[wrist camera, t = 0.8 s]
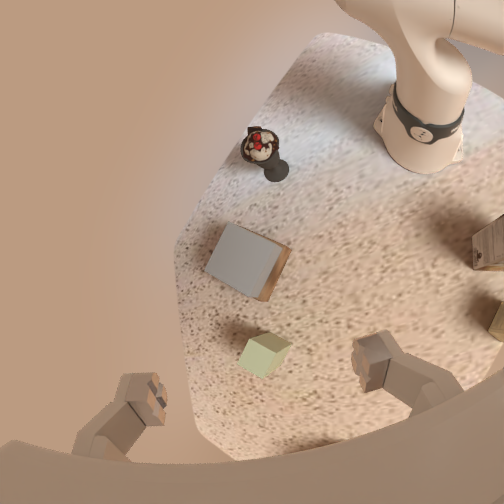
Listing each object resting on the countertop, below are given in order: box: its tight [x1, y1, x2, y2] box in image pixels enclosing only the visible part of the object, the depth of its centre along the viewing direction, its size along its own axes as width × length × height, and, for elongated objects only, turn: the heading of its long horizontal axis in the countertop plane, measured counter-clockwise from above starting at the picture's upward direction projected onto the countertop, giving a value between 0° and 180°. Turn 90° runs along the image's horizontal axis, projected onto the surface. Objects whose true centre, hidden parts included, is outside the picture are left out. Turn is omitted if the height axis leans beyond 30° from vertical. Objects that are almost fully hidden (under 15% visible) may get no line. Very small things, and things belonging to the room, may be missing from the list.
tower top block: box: [204, 221, 283, 298], centre depth 48 cm, size 9×9×4 cm
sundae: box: [241, 126, 289, 182], centre depth 48 cm, size 7×7×15 cm
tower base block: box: [213, 226, 292, 301], centre depth 52 cm, size 10×10×4 cm
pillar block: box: [237, 332, 292, 379], centre depth 45 cm, size 4×4×10 cm
